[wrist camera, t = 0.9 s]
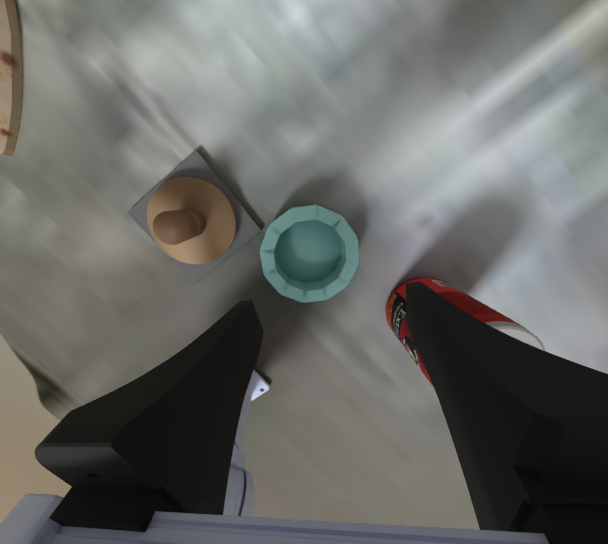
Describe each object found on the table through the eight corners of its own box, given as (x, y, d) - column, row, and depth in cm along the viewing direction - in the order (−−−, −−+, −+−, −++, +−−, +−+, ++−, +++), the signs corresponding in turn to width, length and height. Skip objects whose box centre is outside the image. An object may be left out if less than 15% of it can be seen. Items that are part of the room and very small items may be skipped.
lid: (195, 276, 25) (171, 295, 20) (134, 213, 23) (92, 218, 18) (254, 229, 24) (243, 238, 19) (195, 158, 22) (168, 148, 17)
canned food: (375, 288, 27) (427, 347, 16) (445, 264, 26) (546, 309, 16) (391, 344, 29) (446, 427, 19) (456, 323, 29) (550, 396, 18)
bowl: (300, 304, 27) (300, 318, 24) (247, 241, 25) (240, 248, 22) (367, 257, 26) (376, 265, 23) (317, 185, 23) (321, 184, 20)
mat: (197, 281, 26) (195, 283, 25) (130, 212, 24) (126, 212, 23) (261, 229, 25) (261, 230, 24) (198, 151, 22) (195, 150, 22)
